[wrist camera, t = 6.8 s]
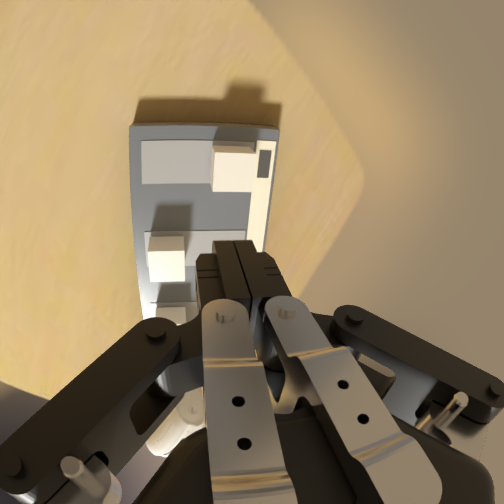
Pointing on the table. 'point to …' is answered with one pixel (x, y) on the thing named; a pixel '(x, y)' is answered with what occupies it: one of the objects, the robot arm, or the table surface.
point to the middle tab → (166, 259)
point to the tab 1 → (172, 314)
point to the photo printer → (178, 424)
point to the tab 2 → (232, 168)
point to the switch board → (193, 198)
